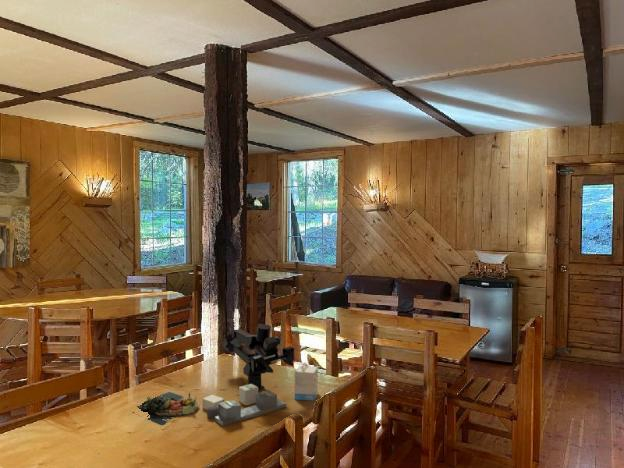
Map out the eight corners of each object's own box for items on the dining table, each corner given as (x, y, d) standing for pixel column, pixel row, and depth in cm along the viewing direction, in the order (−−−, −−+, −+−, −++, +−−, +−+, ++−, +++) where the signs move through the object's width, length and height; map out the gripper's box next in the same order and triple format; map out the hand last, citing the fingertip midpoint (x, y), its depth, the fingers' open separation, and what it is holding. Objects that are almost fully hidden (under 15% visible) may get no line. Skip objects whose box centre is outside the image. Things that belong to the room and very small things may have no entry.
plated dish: (227, 408, 179) (226, 390, 179) (168, 437, 156) (167, 416, 156) (170, 390, 199) (169, 374, 199) (110, 413, 176) (110, 394, 176)
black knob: (205, 416, 171) (205, 408, 171) (215, 413, 173) (215, 405, 173) (210, 419, 168) (210, 411, 168) (219, 417, 170) (220, 409, 170)
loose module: (239, 401, 185) (239, 386, 185) (251, 398, 189) (251, 383, 189) (245, 405, 181) (245, 389, 181) (258, 401, 185) (258, 386, 185)
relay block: (202, 408, 178) (202, 398, 178) (212, 404, 182) (212, 394, 182) (214, 413, 174) (214, 402, 174) (224, 408, 178) (224, 398, 178)
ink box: (314, 401, 186) (314, 368, 185) (294, 399, 187) (294, 367, 187) (318, 393, 194) (318, 362, 194) (298, 392, 196) (299, 361, 195)
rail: (214, 420, 167) (214, 403, 167) (277, 402, 184) (278, 387, 184) (222, 426, 162) (222, 409, 162) (286, 407, 180) (286, 391, 179)
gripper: (244, 339, 185) (261, 356, 172) (284, 328, 195) (303, 343, 182) (245, 364, 188) (262, 382, 175) (284, 352, 198) (303, 368, 185)
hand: (283, 368), depth 179 cm, fingers open, 9 cm apart
